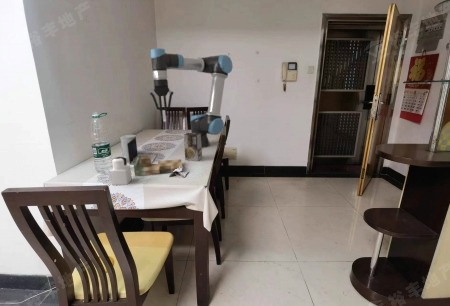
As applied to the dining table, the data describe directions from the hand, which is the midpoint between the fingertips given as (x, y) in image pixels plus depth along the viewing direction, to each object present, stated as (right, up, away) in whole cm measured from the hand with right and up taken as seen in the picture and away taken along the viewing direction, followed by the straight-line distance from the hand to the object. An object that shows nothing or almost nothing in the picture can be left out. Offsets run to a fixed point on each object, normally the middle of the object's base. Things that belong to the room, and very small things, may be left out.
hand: (164, 121), depth 138 cm
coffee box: (+16, -22, +9) cm, 29 cm away
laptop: (-15, -23, +8) cm, 29 cm away
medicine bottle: (-14, -32, -25) cm, 43 cm away
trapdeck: (-1, -27, -8) cm, 29 cm away
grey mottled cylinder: (-28, -19, +20) cm, 40 cm away
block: (-7, -25, -10) cm, 28 cm away
